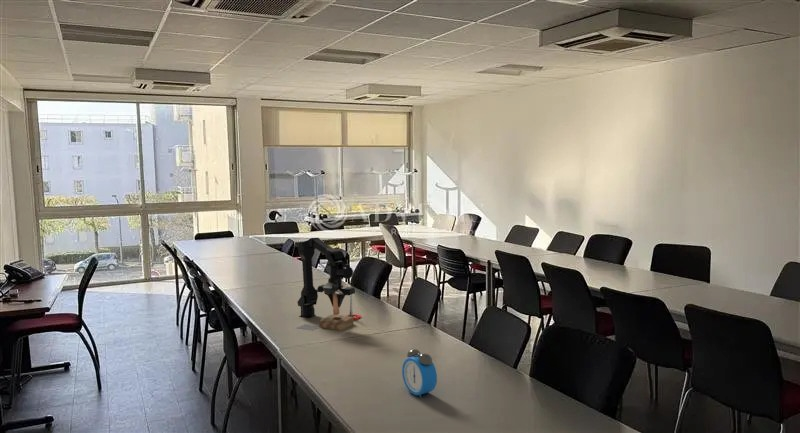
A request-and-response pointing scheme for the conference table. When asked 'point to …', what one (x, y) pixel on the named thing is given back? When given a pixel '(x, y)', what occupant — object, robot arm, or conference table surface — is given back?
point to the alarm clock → (419, 373)
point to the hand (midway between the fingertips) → (336, 306)
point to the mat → (308, 327)
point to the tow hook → (352, 311)
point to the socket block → (336, 322)
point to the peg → (335, 304)
